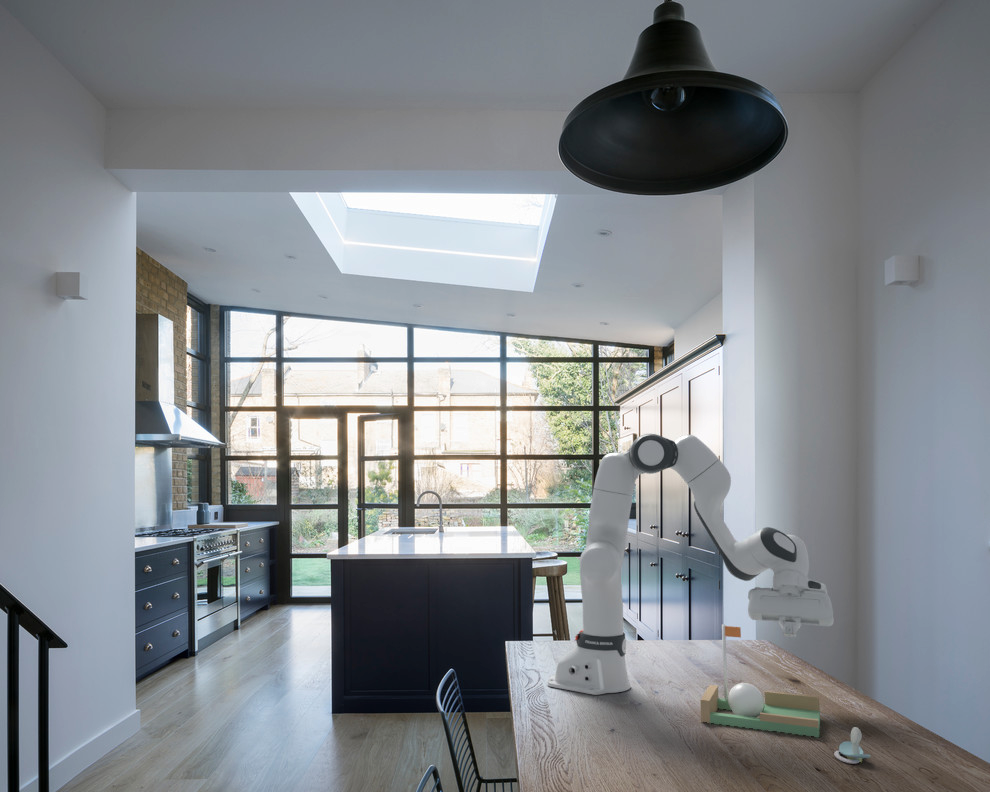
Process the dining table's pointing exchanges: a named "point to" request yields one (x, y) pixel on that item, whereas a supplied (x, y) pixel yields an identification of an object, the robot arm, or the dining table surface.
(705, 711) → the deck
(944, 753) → the dining table surface
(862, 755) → the pacifier
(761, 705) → the ball
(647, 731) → the dining table surface
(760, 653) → the dining table surface
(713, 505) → the robot arm
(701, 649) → the dining table surface
